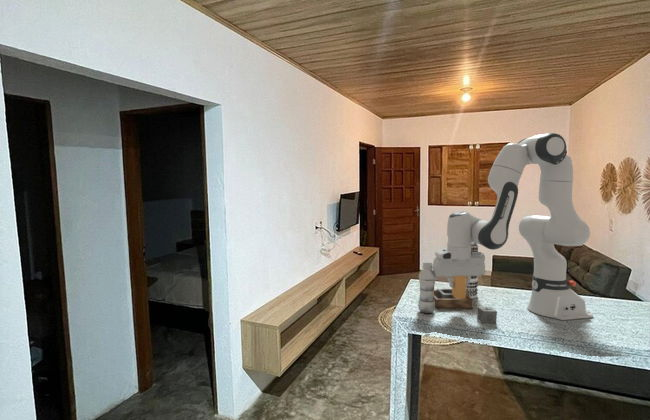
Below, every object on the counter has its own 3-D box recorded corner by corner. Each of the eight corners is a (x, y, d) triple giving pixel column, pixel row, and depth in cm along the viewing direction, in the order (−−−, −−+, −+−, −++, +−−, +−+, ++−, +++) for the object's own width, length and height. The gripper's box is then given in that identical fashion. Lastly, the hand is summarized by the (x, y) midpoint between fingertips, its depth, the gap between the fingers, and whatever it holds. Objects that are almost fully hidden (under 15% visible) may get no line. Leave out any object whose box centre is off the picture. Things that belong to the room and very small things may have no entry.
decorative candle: (472, 291, 170) (474, 240, 168) (482, 298, 161) (484, 243, 159) (453, 292, 169) (455, 240, 167) (462, 298, 160) (464, 244, 158)
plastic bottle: (436, 315, 140) (437, 265, 138) (418, 314, 141) (419, 264, 139) (434, 309, 146) (435, 262, 144) (417, 308, 147) (418, 261, 146)
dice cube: (482, 324, 132) (483, 311, 131) (477, 319, 137) (477, 306, 136) (496, 324, 131) (496, 311, 131) (490, 319, 136) (490, 306, 136)
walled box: (459, 298, 160) (460, 286, 160) (472, 308, 147) (472, 296, 147) (426, 298, 160) (427, 287, 160) (436, 308, 147) (436, 296, 147)
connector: (461, 294, 144) (461, 271, 144) (465, 298, 140) (465, 274, 140) (451, 295, 144) (452, 272, 143) (455, 298, 140) (455, 274, 140)
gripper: (481, 250, 144) (480, 283, 145) (431, 251, 144) (431, 285, 145) (488, 253, 138) (488, 288, 139) (436, 255, 137) (436, 290, 139)
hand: (458, 286), depth 142 cm, fingers closed on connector, 4 cm apart
